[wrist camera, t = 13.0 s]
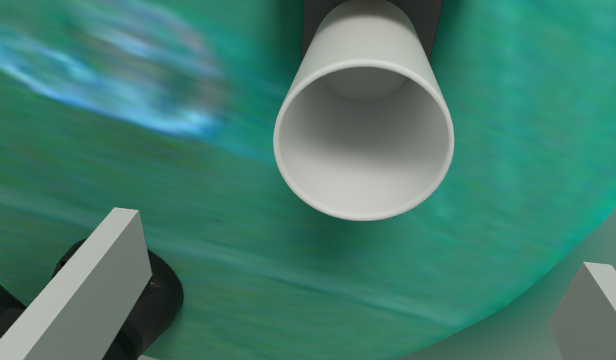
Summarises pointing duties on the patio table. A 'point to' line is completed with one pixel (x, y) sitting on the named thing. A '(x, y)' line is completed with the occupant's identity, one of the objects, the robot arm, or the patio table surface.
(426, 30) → the mat
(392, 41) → the cup
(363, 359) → the patio table surface
